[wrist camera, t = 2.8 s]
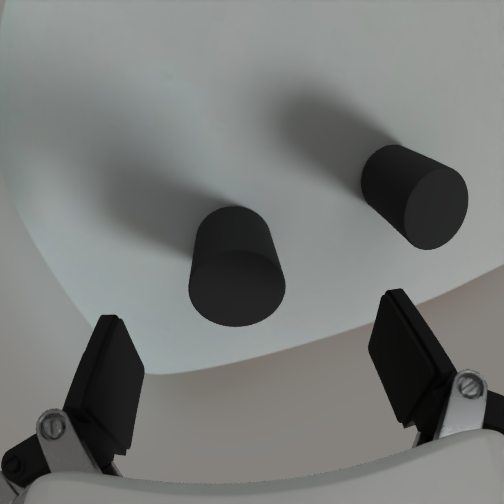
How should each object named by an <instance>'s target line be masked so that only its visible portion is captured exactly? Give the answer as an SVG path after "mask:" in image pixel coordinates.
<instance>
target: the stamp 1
mask: <svg viewBox="0 0 504 504" xmlns="http://www.w3.org/2000/svg"><path fill="white" fill-rule="evenodd" d="M285 287H286V286H285V279H284V275H283V272H282V269H281V265H280V262H279V259H278V256H277V253H276V249H275V246H274V243H273V240H272V237H271V234H270V230H269V228H268V226H267V224H266V222H265V221H264V220H263V218H262V217H261V216H259V215H258V214H257V213H255V212H254V211H252V210H250V209H247V208H243V207H236V206H234V207H225V208H221V209H219V210H216V211H214V212H213V213H211V214H210V215H208V216H207V217H206V218H205V219H204V220H203V222H202V223H201V224H200V226H199V228H198V231H197V235H196V241H195V247H194V253H193V259H192V266H191V272H190V279H189V289H188V291H189V297H190V300H191V302H192V304H193V306H194V307H195V309H196V310H197V311H198V312H199V313H200V314H201V315H202V316H203V317H205V318H206V319H208V320H209V321H212V322H214V323H216V324H219V325H223V326H230V327H241V326H248V325H252V324H255V323H258V322H260V321H262V320H264V319H266V318H267V317H269V316H270V315H271V314H272V313H273V312H274V311H275V310H276V309H277V308H278V307H279V305H280V304H281V302H282V300H283V297H284V294H285Z"/></svg>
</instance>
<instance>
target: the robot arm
mask: <svg viewBox="0 0 504 504" xmlns="http://www.w3.org/2000/svg"><path fill="white" fill-rule="evenodd" d="M368 350H369V354H370V356H371V359H372V361H373V363H374V365H375V368H376V370H377V372H378V375H379V377H380V379H381V382H382V384H383V386H384V389H385V391H386V393H387V396H388V398H389V401H390V403H391V406H392V408H393V410H394V413H395V415H396V418H397V420H398V422H400V423H402V424H403V426H404V428H408V427H410V426H413V425H416V427H417V429H418V433H417V435H416V438H415V441H414V443H413V446H412V448H411V449H409V450H406V451H403V452H400V453H397V454H394V455H391V456H387V457H384V458H381V459H378V460H374V461H371V462H367V463H364V464H360V465H356V466H352V467H348V468H344V469H339V470H335V471H330V472H325V473H320V474H314V475H308V476H302V477H296V478H289V479H281V480H272V481H261V482H247V483H224V484H198V483H197V484H196V483H174V482H161V481H151V480H141V479H132V478H125V477H123V476H122V474H121V473H120V472H119V470H118V469H117V467H116V465H115V464H114V462H113V458H114V454H118V455H124V456H125V455H126V450H127V449H130V447H131V442H132V436H133V430H134V424H135V419H136V413H137V408H138V403H139V398H140V393H141V387H142V383H143V378H144V366H143V363H142V361H141V359H140V357H139V355H138V353H137V351H136V349H135V347H134V344H133V342H132V340H131V338H130V336H129V333H128V331H127V329H126V326H125V324H124V322H123V320H122V319H119V318H118V316H117V315H101V316H100V318H99V320H98V322H97V324H96V327H95V329H94V331H93V333H92V336H91V338H90V340H89V343H88V345H87V348H86V350H85V352H84V354H83V356H82V358H81V361H80V363H79V366H78V368H77V371H76V373H75V376H74V379H73V381H72V384H71V387H70V389H69V392H68V395H67V398H66V400H65V404H64V407H63V409H62V410H60V409H50V410H47V411H45V412H44V413H43V414H42V415H41V416H40V417H39V419H38V421H37V424H36V434H34V435H33V436H31V437H30V438H28V439H27V440H24V441H23V442H21V443H20V444H18V445H16V446H15V447H13V448H12V449H10V450H8V451H7V452H6V453H5V454H4V456H3V458H2V462H1V468H2V471H0V504H504V396H503V395H500V394H497V393H494V392H492V391H489V390H488V389H487V383H486V381H485V379H484V377H483V376H482V375H480V374H479V373H478V372H476V371H474V370H469V369H466V370H462V371H460V372H457V371H456V369H455V367H454V365H453V364H452V362H451V360H450V359H449V357H448V356H447V354H446V353H445V351H444V349H443V348H442V346H441V344H440V343H439V341H438V340H437V338H436V337H435V335H434V334H433V332H432V331H431V329H430V328H429V326H428V325H427V323H426V322H425V320H424V319H423V317H422V316H421V314H420V313H419V311H418V310H417V309H416V307H415V306H414V304H413V303H412V301H411V300H410V299H409V297H408V296H407V294H406V293H405V292H404V290H403V289H401V288H399V289H393V290H388V291H386V292H385V295H382V297H381V300H380V304H379V308H378V312H377V316H376V320H375V323H374V328H373V331H372V334H371V338H370V341H369V345H368Z"/></svg>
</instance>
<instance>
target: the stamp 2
mask: <svg viewBox="0 0 504 504" xmlns="http://www.w3.org/2000/svg"><path fill="white" fill-rule="evenodd" d="M361 186H362V192H363V195H364V197H365V199H366V201H367V202H368V204H369V205H370V206H371V207H372V208H373V209H375V210H376V211H377V212H378V213H379V214H380V215H381V216H382V217H383V218H384V219H386V220H387V221H388V222H389V223H390V224H391V225H392V226H393V227H394V228H395V229H396V230H397V231H398V232H399V233H400V234H401V235H403V236H404V237H405V238H406V239H407V240H408V241H409V242H410V243H411V244H412V245H413V246H414V247H416V248H419V249H422V250H432V249H436V248H438V247H440V246H442V245H444V244H445V243H447V242H448V241H449V240H450V239H451V238H452V237H453V236H454V235H455V234H456V233H457V231H458V230H459V228H460V227H461V225H462V223H463V221H464V218H465V216H466V212H467V208H468V190H467V186H466V184H465V181H464V179H463V178H462V176H461V175H460V174H459V173H458V172H457V171H455V170H454V169H452V168H450V167H448V166H446V165H444V164H442V163H439V162H437V161H435V160H433V159H431V158H428V157H426V156H424V155H422V154H419V153H417V152H415V151H412V150H410V149H407V148H405V147H402V146H399V145H389V146H385V147H383V148H381V149H379V150H377V151H376V152H375V153H374V154H373V155H372V156H371V157H370V158H369V160H368V161H367V163H366V165H365V167H364V170H363V173H362V179H361Z"/></svg>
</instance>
